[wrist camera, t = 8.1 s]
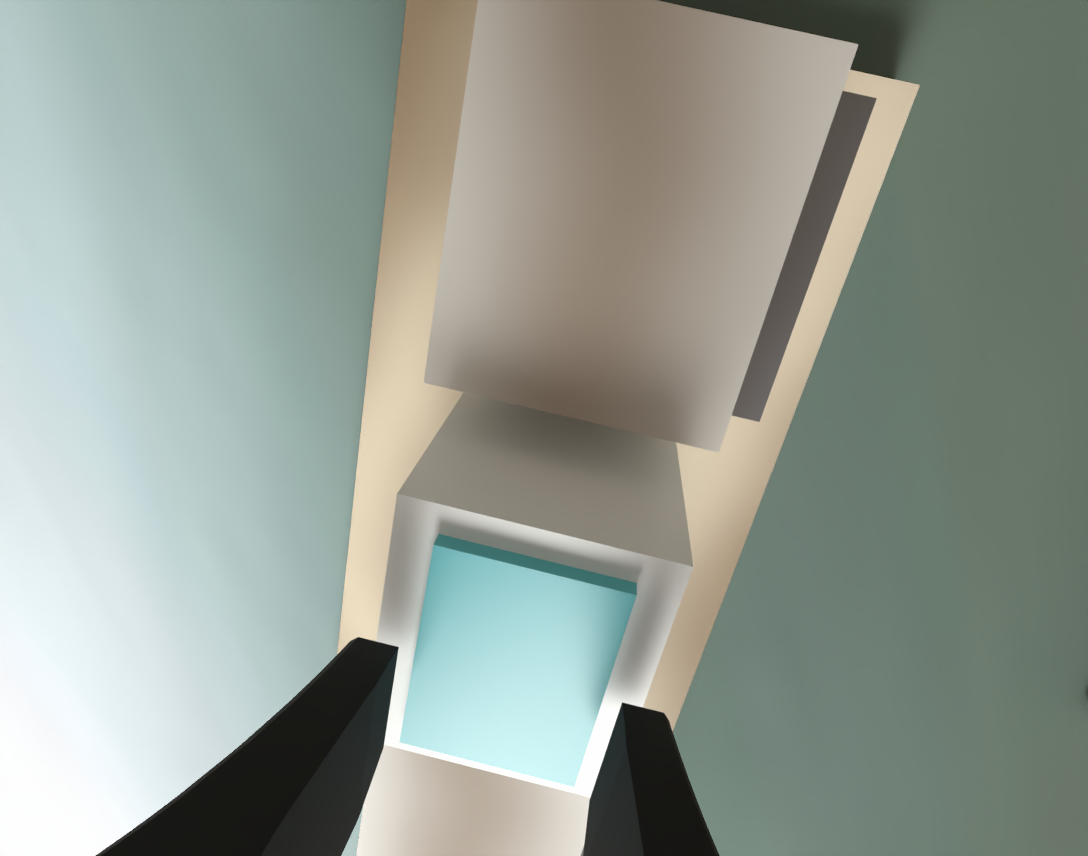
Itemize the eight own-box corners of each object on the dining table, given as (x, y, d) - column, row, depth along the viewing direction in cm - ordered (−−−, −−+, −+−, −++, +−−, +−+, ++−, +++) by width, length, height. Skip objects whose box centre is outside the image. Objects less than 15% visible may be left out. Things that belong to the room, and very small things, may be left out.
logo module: (672, 413, 15) (694, 578, 10) (616, 592, 18) (607, 818, 12) (480, 367, 16) (390, 503, 10) (447, 550, 18) (355, 753, 12)
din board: (892, 89, 15) (1062, 60, 9) (645, 760, 23) (649, 974, 17) (430, -13, 15) (301, -106, 9) (348, 685, 23) (252, 871, 17)
